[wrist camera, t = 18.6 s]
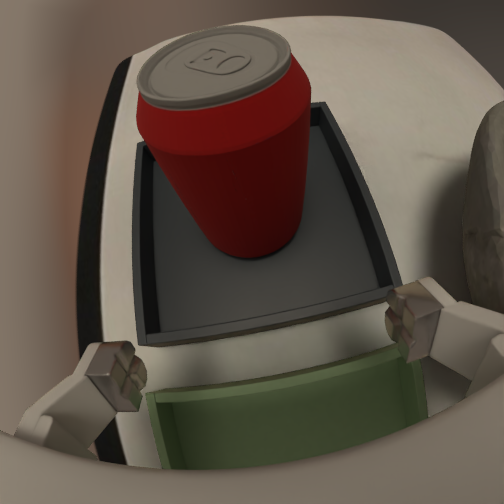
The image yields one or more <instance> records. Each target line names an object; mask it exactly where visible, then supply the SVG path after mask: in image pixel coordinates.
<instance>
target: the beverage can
mask: <svg viewBox="0 0 504 504" xmlns="http://www.w3.org/2000/svg"><path fill="white" fill-rule="evenodd" d="M137 87H138V90H139V95H138V104H137V114H136V120H137V127H138V130H139V133H140V134H141V136H142V138H143V139H144V141H145V143H146V144H147V146H148V148H149V149H150V151H151V153H152V154H153V156H154V158H155V159H156V161H157V163H158V164H159V166H160V168H161V169H162V171H163V172H164V174H165V176H166V177H167V179H168V180H169V182H170V183H171V185H172V187H173V188H174V190H175V191H176V193H177V194H178V196H179V198H180V199H181V201H182V202H183V204H184V205H185V207H186V208H187V210H188V211H189V213H190V214H191V216H192V217H193V219H194V220H195V222H196V223H197V224H198V226H199V227H200V229H201V230H202V232H203V233H204V234H205V236H206V237H207V239H208V240H209V241H210V242H211V243H212V244H213V245H214V246H215V247H216V248H218V249H219V250H221V251H223V252H225V253H227V254H230V255H233V256H237V257H245V258H252V257H259V256H263V255H267V254H269V253H272V252H274V251H276V250H278V249H279V248H281V247H282V246H283V245H285V244H286V243H287V242H288V241H289V240H290V239H291V238H292V237H293V235H294V234H295V232H296V231H297V229H298V227H299V225H300V222H301V218H302V211H303V203H304V195H305V185H306V175H307V163H308V149H309V133H310V110H311V86H310V82H309V79H308V77H307V75H306V73H305V72H304V70H303V69H302V67H301V66H300V64H299V63H298V62H297V60H296V59H295V57H294V56H293V55H292V53H291V49H290V45H289V43H288V42H287V41H286V39H285V38H283V37H282V36H281V35H279V34H278V33H276V32H273V31H271V30H268V29H265V28H261V27H255V26H245V25H233V26H221V27H215V28H210V29H205V30H201V31H198V32H195V33H192V34H189V35H186V36H184V37H181V38H179V39H177V40H175V41H173V42H171V43H169V44H168V45H166V46H164V47H163V48H161V49H160V50H158V51H157V52H156V53H155V54H153V55H152V56H151V57H150V58H149V59H148V60H147V61H146V62H145V63H144V65H143V66H142V67H141V69H140V71H139V73H138V76H137Z"/></svg>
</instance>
